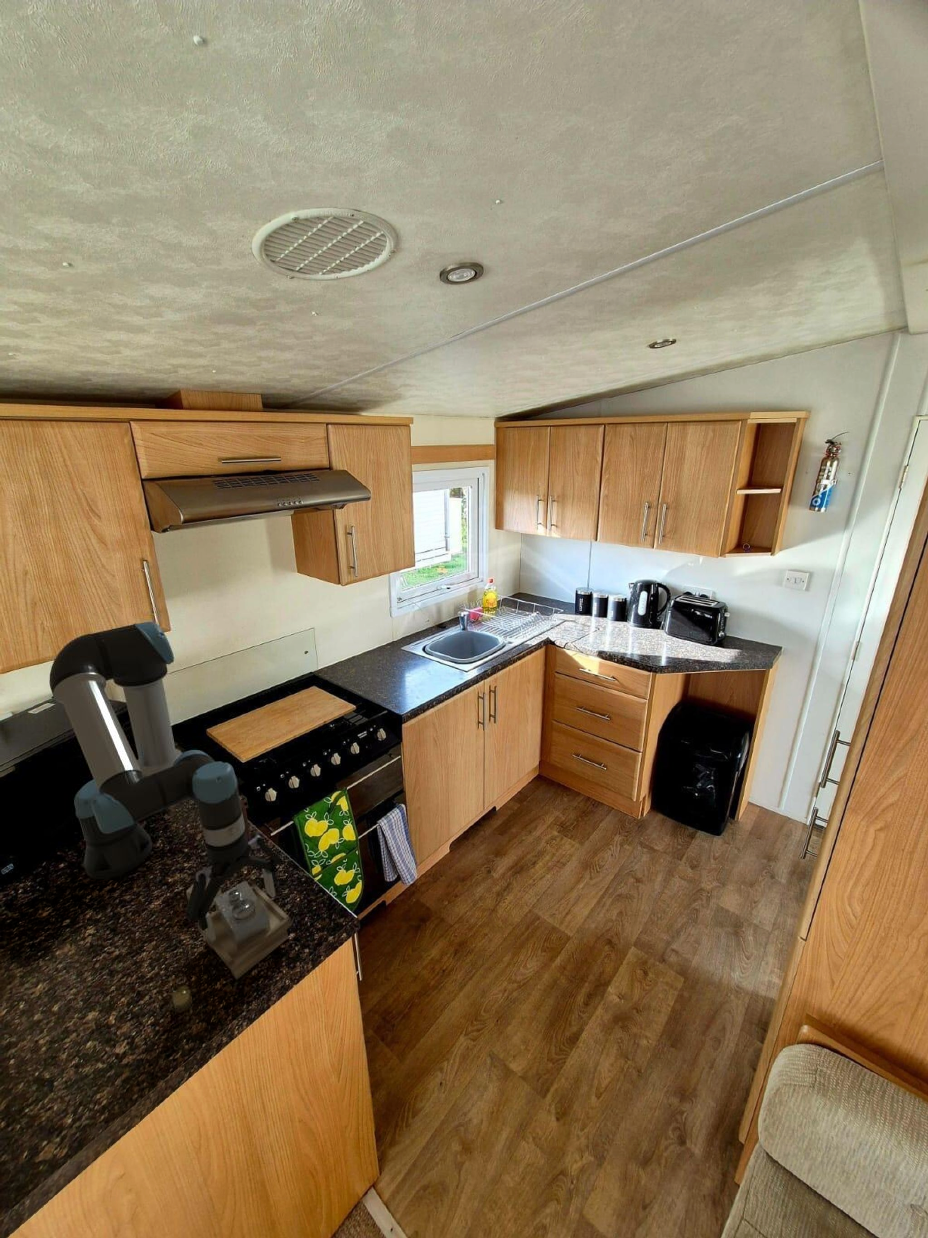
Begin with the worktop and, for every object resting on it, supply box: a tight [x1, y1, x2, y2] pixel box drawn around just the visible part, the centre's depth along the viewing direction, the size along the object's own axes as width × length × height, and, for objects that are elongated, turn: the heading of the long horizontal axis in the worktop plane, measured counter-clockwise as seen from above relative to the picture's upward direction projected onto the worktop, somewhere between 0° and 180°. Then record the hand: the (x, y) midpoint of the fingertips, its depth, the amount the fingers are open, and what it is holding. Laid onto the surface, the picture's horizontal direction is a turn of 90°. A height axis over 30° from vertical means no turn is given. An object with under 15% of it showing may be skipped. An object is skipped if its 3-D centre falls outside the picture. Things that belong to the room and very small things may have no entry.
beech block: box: [185, 877, 223, 909], centre depth 121 cm, size 5×5×5 cm
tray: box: [196, 883, 293, 981], centre depth 111 cm, size 15×14×6 cm
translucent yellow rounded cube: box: [171, 985, 193, 1014], centre depth 99 cm, size 3×3×3 cm
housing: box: [214, 880, 271, 952], centre depth 110 cm, size 12×7×6 cm, turn 44°
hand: (242, 914), depth 110 cm, fingers open, 13 cm apart
